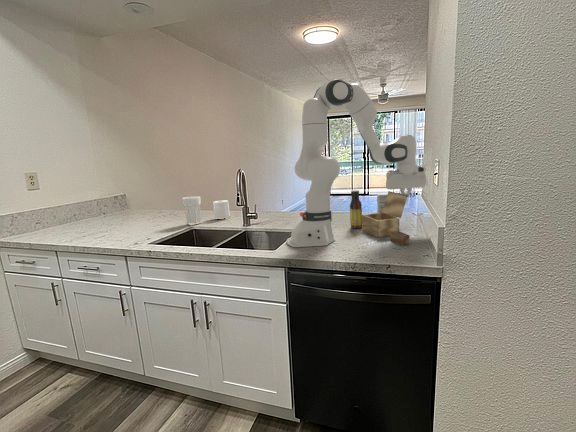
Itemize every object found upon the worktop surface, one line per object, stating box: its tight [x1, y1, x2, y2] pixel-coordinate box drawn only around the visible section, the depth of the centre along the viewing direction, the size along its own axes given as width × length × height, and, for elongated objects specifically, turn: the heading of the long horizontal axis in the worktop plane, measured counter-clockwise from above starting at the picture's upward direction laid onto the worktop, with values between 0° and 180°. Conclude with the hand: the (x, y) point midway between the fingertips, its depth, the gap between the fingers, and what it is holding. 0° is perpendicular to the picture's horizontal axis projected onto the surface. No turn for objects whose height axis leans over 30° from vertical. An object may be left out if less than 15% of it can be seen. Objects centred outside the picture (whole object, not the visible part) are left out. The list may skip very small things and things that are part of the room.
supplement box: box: [376, 192, 398, 218], centre depth 174 cm, size 10×9×17 cm
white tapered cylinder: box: [212, 199, 231, 219], centre depth 223 cm, size 10×10×12 cm
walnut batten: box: [390, 230, 410, 247], centre depth 142 cm, size 3×10×4 cm, turn 12°
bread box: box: [361, 212, 400, 238], centre depth 161 cm, size 11×17×8 cm
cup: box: [181, 195, 202, 224], centre depth 210 cm, size 11×11×17 cm
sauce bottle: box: [349, 189, 363, 229], centre depth 173 cm, size 7×6×20 cm
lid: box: [382, 190, 409, 219], centre depth 161 cm, size 11×17×1 cm
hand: (405, 197), depth 161 cm, fingers closed
